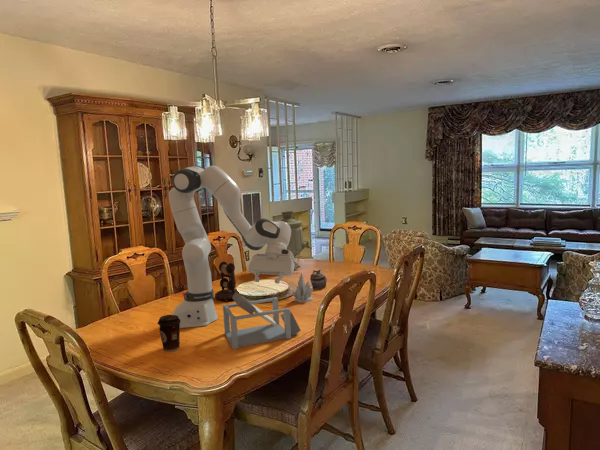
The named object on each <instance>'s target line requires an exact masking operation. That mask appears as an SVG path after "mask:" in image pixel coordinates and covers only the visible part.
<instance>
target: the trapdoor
mask: <svg viewBox="0 0 600 450" xmlns="http://www.w3.org/2000/svg"><path fill="white" fill-rule="evenodd" d="M232 298H233V299H232V300H233V301H234V303H235V304H237V305H238V306H237V307H239V308H241V309H242V310H244V311H245V312H247V314H254V313H260V312H264V310H262V309H260V308H259V307H257V306H256V305H255V304H251V303H250V302H249V299H247V298H245V297H244V296H241V295H239V294H238V293H237V292H236V293H235V294H234V295H233V297H232ZM259 317H260V318H262V319H263V320H265V321H266V322H268V324H272V325H274V326H275V327H277V326H278V325H277V324H276V322H275V321H274V320H273V317H271V316H270V314H269V315H263V316H259Z"/></svg>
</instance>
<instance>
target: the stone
mask: <svg viewBox="0 0 600 450" xmlns="http://www.w3.org/2000/svg"><path fill="white" fill-rule="evenodd" d="M279 317H280V318H281V319H282V321H283V322H284V312H282V314H279ZM290 323H291V337H292V336H293V337H294V336H296V334H298V333H300V332H301V328H300V326H299V324H298V322H297V320H296V318H295V317H294V315H293V312H291V311H290Z"/></svg>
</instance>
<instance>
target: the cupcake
mask: <svg viewBox="0 0 600 450" xmlns="http://www.w3.org/2000/svg"><path fill="white" fill-rule="evenodd" d="M309 280H310V284H311V285H310V286H312V287H313V290H323V289H326V286H327V280H328V278H327V277H326V275H325V273H323V271H322V270H321V269H319V270H313V271H312V273H311V274H310V279H309Z"/></svg>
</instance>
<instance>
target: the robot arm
mask: <svg viewBox="0 0 600 450" xmlns="http://www.w3.org/2000/svg"><path fill="white" fill-rule="evenodd" d="M171 180H172V186H173V187H172V188H171V189H170V190H169V192H168V201H169V206H170V209H171V213H172V217H173V220H174V223H175V226H176V229H177V231H178V232H179V234H180V235H181V237H182V239H183V242H184V245H183V248H182V251H181V257H182V259H183V264H184V269H185V270H184V271H185V273H186V281H187V291H186V290H184V291H182V294H181V295H182V296H183V300H182V301H181V302H180V303H179V304H177V306H175V308H174V310H173V313H172V315H176V316H178V318H179V319H180V329H185V328H195V327H204V326H205V327H206V326H208V325H209V324H211V323H212V322H215V321H216V320H217V319H219V317H218V314H217V312H216V306H215V302H214V300H215V294H214V292H215V291H214V288H213V284H212V283H213V281H212V271H211V269H210V263H209V255H210V254H211V252H212V251H211V250H212V244H211V241H210V239H209V236H208V234H207V232H206V230H205V227H204V226H203V223H202V221H201V217H200V214H199V211H198V207H197V205H196V201H195V197H194V196H195V193H199V192H200V191H201V190H203V189H205V190H208V192H210V194H211V195H212V196H213V197H214V198H215V199H216V200H217V202H218V203H219V205H220V206H221V208H222V209H223V213H224V214H225V216H226V217H227V218H228V220H229V221H230V223H231V224H232V225H233V227H234V228H235V229H236V230H237V232H238V233H239V235H240V237H241V238H242V240H243V243H244V245H245V247H246V248H248V249H250V250H252V251H259V250H261V249H263V247H264V246H265V245H267V246H266V249H265V252H264V253H256V254H254V255H253V256H252V258H251V260H250V262H249V264H248V266H247V269H248V271H249V272H250V273H251V274H253V275H254V280H253V281H254V282H255V283H260V277H259V276H260V275H274V276H275V275H276V276H278V277H276V278H275V279H274V283H275V284H278V285H279V284H280V281H281V280H283V278H284V277H285V276H289V277H290V276H291V277H292V275H293V274H294V271H295V269H294V267H295V264H294V262H296V261H295V260H296V257H295V258H294V256H293V254H292V252H291V251H289V250H287V246H288V244H289V241H290V237H291V228H290V226H289V225H288V224H287V223H286V222H283V221H281V220H278V221H272V220H270V219H267V218H259V219H258V220H257V221H256V222H254V224H253V225H251V224H250V223H249V222H248V220H247V218H246V217H245V216H244V215H243V214H242V211H241V206H240V205H241V204H240V203H241V197H242V191H241V189H240V187H239V185H238V184H237V183H236V182H235V180H234V179H233V178H231V177H230V175H228V174H227V173H226V172H225V171H224V170H223V169H222V168H221V167H219V166H217V165H209V166H207V167H206V168H205V167H204V166H199V165H195V166H193V165H192V166H188V167H185V168H181V169H179V170H178V169H177V170H176V172H175V173H174V174H173V175H172V179H171Z"/></svg>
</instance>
